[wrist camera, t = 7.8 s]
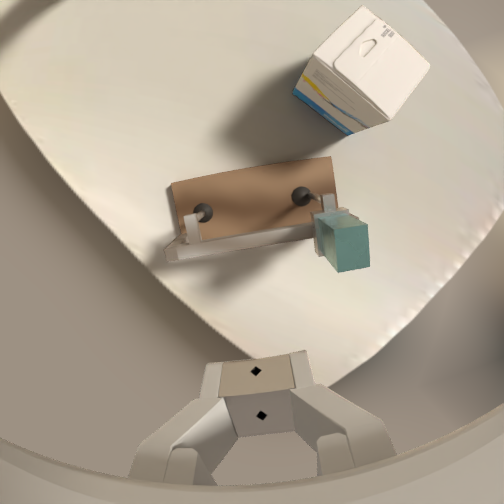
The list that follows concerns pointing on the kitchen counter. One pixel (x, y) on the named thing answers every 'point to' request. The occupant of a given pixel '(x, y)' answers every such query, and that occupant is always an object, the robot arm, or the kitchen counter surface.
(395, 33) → the ink box
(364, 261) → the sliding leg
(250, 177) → the board
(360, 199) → the kitchen counter surface
